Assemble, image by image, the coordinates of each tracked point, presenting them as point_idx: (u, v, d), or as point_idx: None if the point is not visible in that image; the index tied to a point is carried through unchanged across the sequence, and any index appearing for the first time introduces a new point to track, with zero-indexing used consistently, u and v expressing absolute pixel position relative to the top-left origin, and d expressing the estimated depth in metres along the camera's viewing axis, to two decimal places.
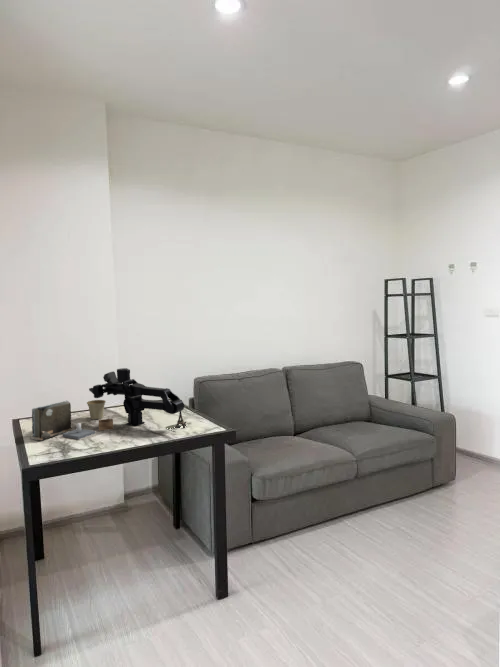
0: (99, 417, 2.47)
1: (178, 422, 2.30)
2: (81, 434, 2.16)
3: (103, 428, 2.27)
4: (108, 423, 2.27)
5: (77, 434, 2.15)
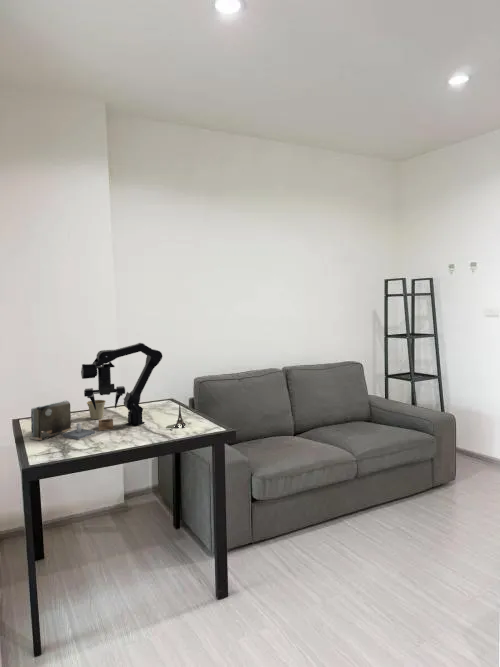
0: (99, 417, 2.47)
1: (177, 422, 2.31)
2: (81, 434, 2.16)
3: (103, 428, 2.27)
4: (108, 423, 2.27)
5: (77, 434, 2.15)
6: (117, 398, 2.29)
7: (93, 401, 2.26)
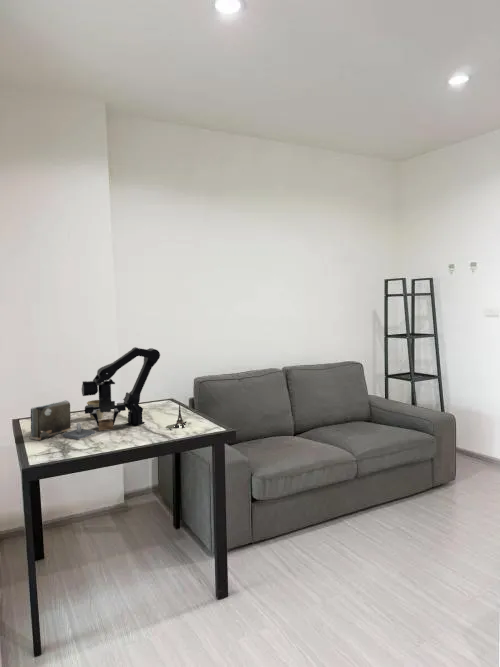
0: (99, 417, 2.47)
1: (177, 422, 2.31)
2: (81, 434, 2.16)
3: (103, 428, 2.27)
4: (108, 423, 2.27)
5: (77, 434, 2.15)
6: (115, 415, 2.30)
7: (96, 418, 2.27)
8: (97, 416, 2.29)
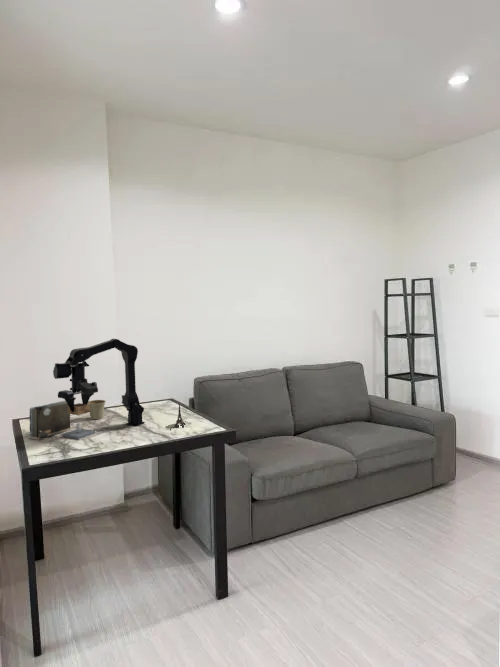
0: (99, 417, 2.47)
1: (177, 421, 2.31)
2: (81, 434, 2.16)
3: (81, 412, 2.16)
4: (85, 406, 2.18)
5: (77, 434, 2.15)
6: (88, 398, 2.22)
7: (73, 403, 2.14)
8: None
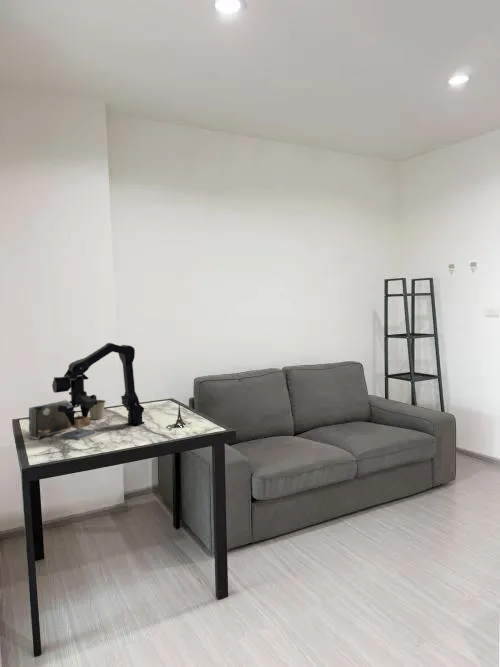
0: (99, 417, 2.47)
1: (177, 421, 2.32)
2: (81, 434, 2.16)
3: (82, 425, 2.16)
4: (85, 419, 2.18)
5: (77, 434, 2.15)
6: (88, 410, 2.22)
7: (73, 416, 2.14)
8: None
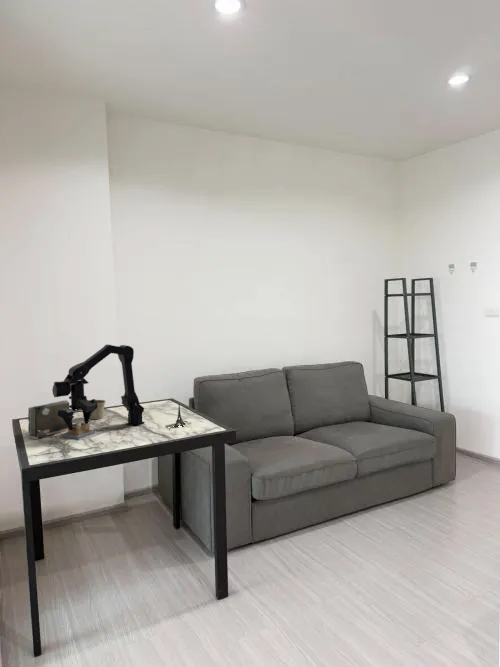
0: (99, 417, 2.47)
1: (177, 421, 2.32)
2: (81, 434, 2.16)
3: (82, 432, 2.17)
4: (85, 426, 2.19)
5: None
6: (90, 414, 2.23)
7: (71, 421, 2.13)
8: None
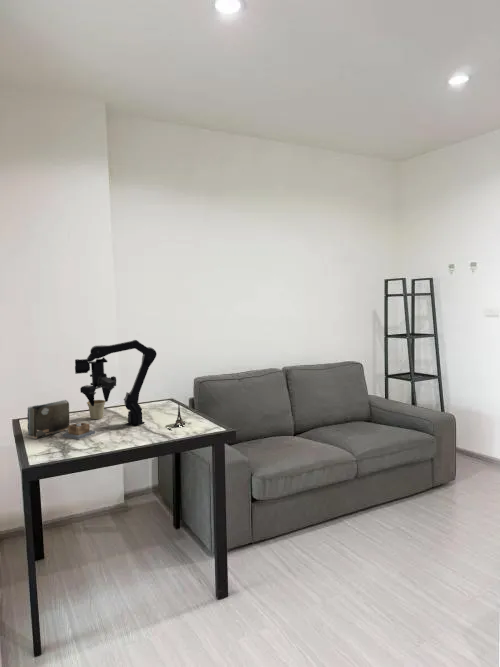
0: (99, 417, 2.47)
1: (177, 421, 2.32)
2: (81, 434, 2.16)
3: (82, 432, 2.17)
4: (85, 426, 2.19)
5: None
6: (109, 391, 2.35)
7: (93, 397, 2.25)
8: None
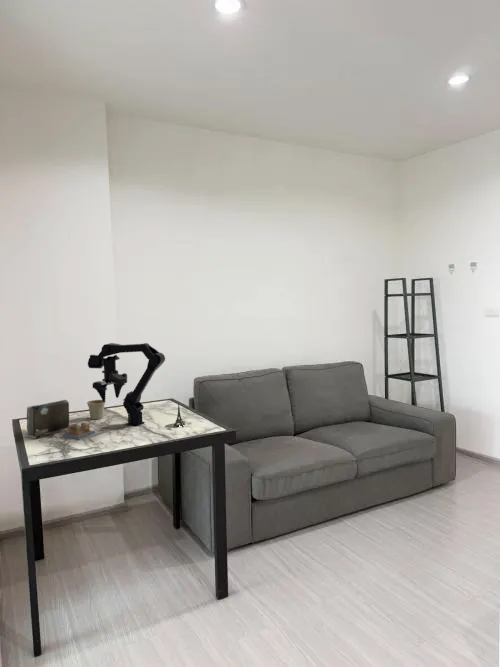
0: (99, 417, 2.47)
1: (176, 421, 2.32)
2: (81, 434, 2.16)
3: (82, 432, 2.17)
4: (85, 426, 2.19)
5: None
6: (120, 387, 2.42)
7: (104, 393, 2.33)
8: None
